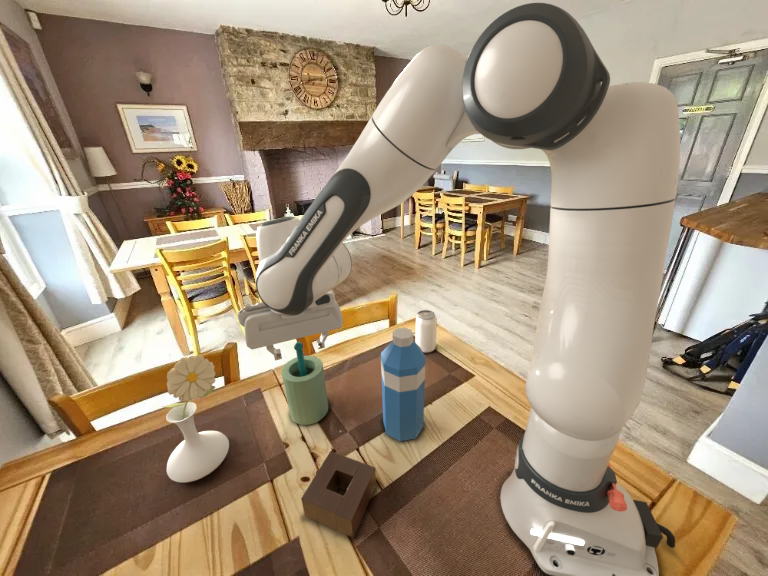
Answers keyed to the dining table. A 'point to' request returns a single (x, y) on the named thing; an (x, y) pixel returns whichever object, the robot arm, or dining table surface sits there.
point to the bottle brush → (300, 358)
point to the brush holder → (333, 506)
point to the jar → (305, 390)
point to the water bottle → (403, 386)
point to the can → (426, 330)
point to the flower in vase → (198, 448)
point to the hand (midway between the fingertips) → (300, 352)
